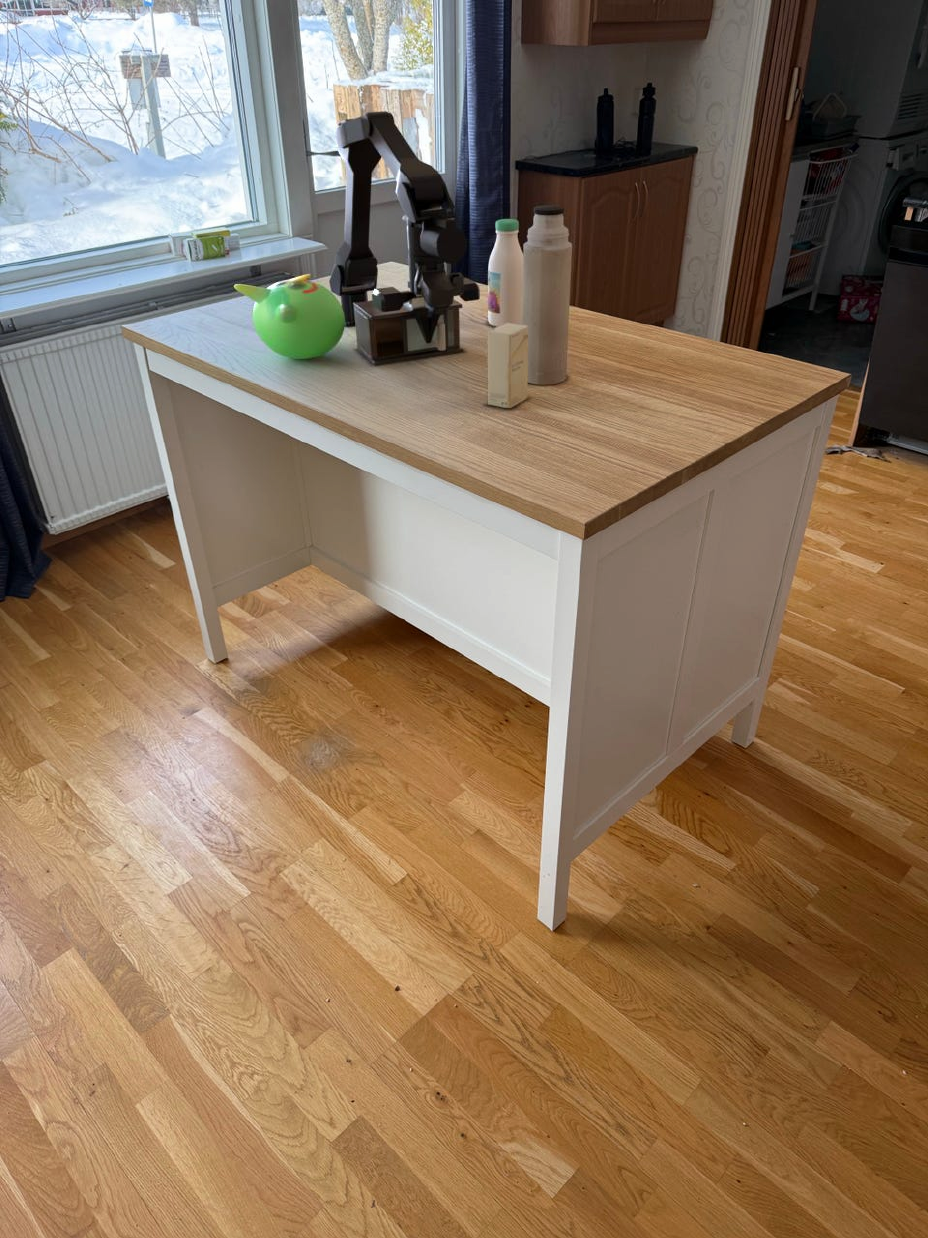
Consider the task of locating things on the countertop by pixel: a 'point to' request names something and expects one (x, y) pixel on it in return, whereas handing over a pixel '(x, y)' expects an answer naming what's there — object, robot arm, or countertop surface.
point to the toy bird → (296, 317)
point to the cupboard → (396, 333)
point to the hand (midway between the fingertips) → (428, 342)
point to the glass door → (414, 337)
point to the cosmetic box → (507, 365)
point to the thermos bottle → (547, 295)
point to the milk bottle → (505, 276)
